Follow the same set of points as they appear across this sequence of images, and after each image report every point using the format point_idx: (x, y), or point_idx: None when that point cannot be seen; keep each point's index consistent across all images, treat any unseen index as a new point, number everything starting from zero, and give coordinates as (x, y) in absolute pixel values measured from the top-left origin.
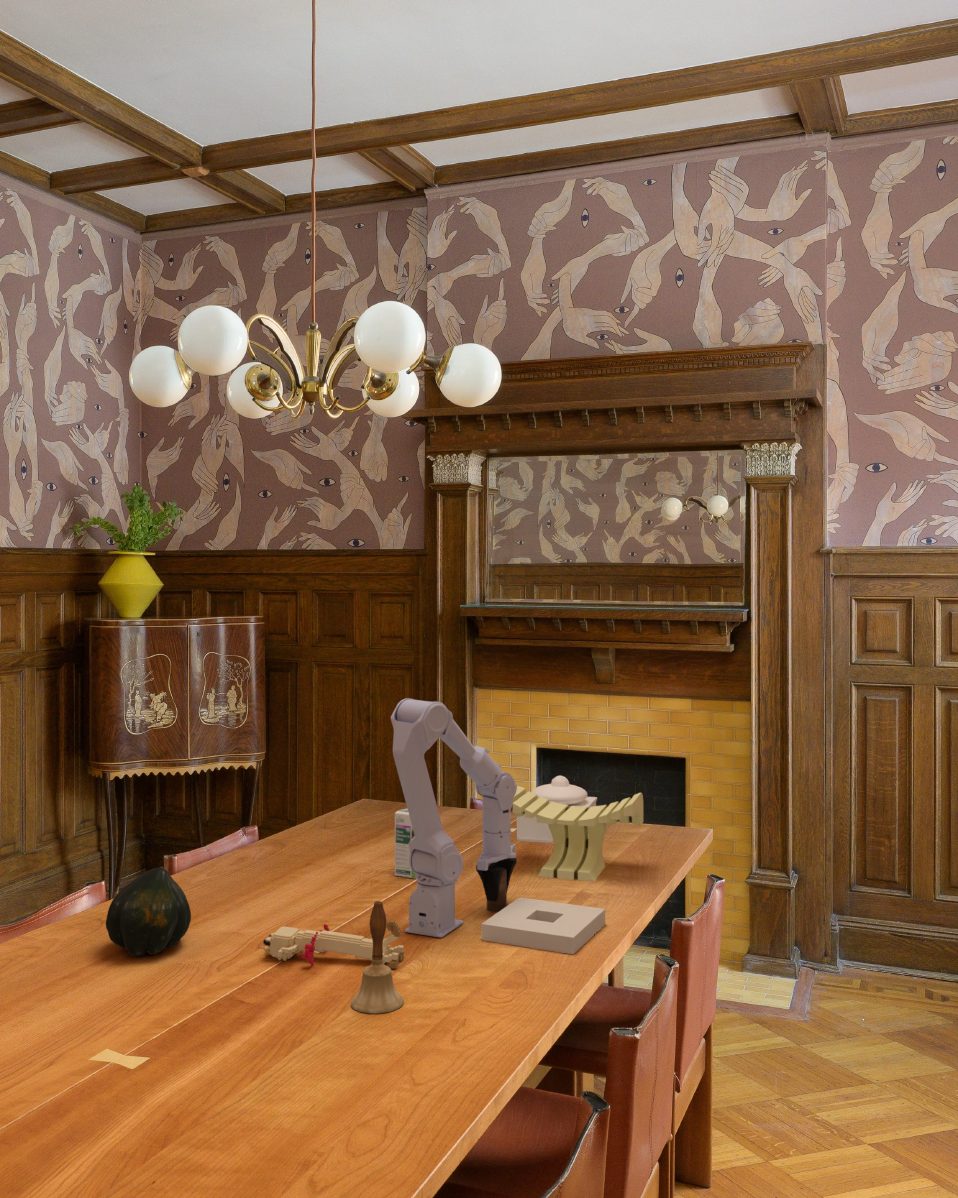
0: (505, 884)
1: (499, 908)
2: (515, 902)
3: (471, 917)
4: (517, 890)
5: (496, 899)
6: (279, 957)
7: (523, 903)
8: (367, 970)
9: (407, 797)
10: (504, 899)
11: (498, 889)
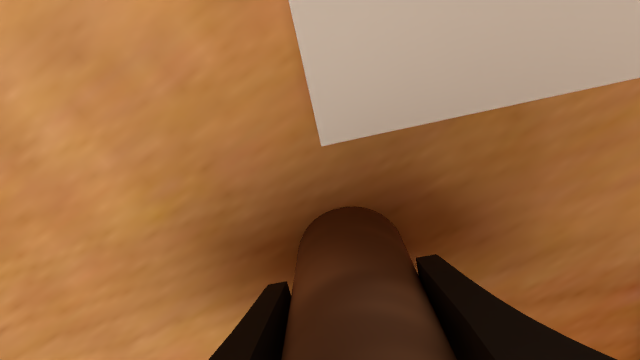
0: (354, 308)
1: (389, 226)
2: (462, 89)
3: (533, 277)
4: (41, 339)
5: (441, 258)
6: None
7: (449, 12)
8: None
9: None
10: (359, 238)
11: (461, 295)
